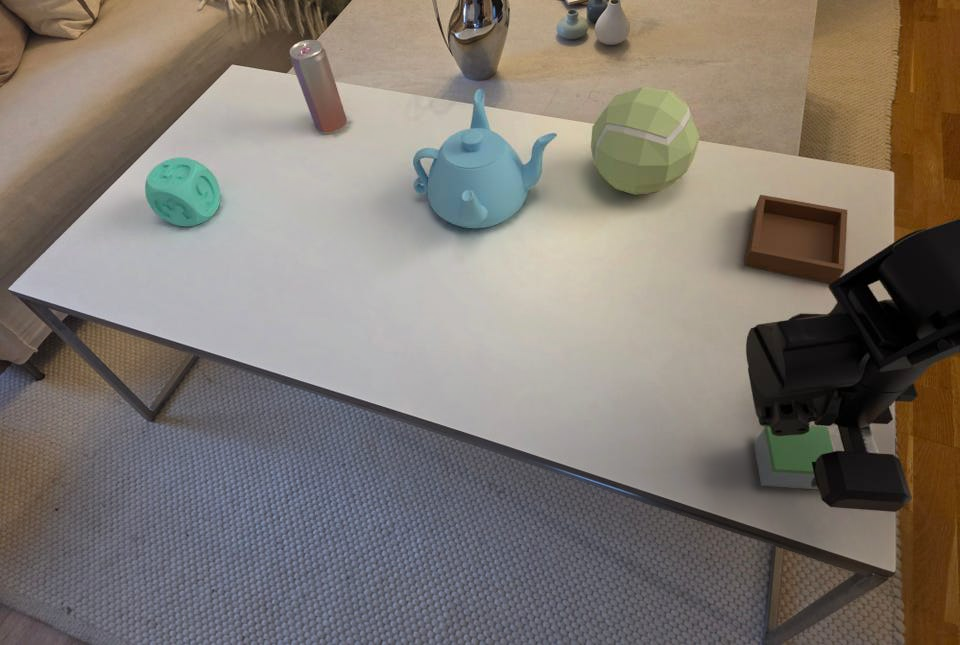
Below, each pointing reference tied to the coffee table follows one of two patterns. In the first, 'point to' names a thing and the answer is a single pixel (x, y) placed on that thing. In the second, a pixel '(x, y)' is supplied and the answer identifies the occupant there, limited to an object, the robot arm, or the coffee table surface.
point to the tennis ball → (644, 140)
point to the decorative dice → (182, 191)
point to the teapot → (478, 174)
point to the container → (790, 456)
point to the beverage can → (318, 86)
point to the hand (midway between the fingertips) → (806, 442)
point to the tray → (798, 239)
